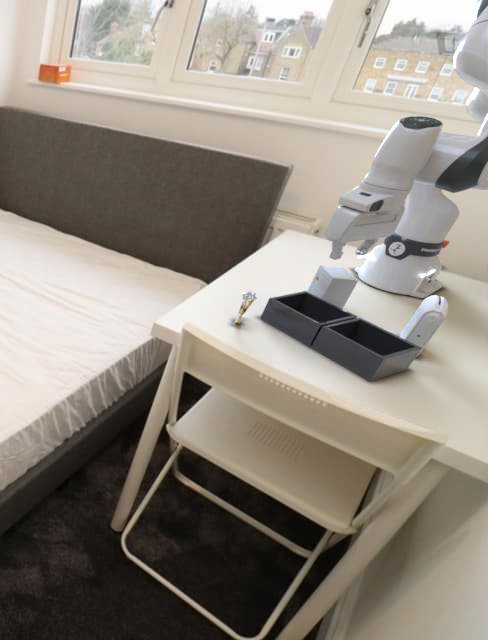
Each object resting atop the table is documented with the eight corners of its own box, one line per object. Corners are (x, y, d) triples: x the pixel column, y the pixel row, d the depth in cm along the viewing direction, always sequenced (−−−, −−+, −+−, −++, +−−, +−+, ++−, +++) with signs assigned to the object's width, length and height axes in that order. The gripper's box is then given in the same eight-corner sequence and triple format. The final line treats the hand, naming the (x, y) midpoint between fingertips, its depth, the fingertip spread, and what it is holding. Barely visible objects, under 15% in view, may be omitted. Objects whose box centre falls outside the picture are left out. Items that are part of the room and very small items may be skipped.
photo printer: (418, 360, 111) (453, 311, 103) (394, 352, 113) (427, 303, 106) (420, 342, 117) (453, 294, 110) (397, 335, 119) (429, 288, 112)
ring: (240, 330, 117) (254, 300, 113) (226, 325, 119) (239, 295, 115) (248, 319, 122) (262, 290, 117) (235, 315, 124) (247, 285, 119)
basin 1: (295, 310, 127) (305, 290, 124) (345, 337, 117) (358, 316, 114) (259, 318, 123) (269, 298, 120) (308, 346, 113) (320, 325, 110)
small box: (337, 319, 124) (359, 281, 118) (312, 316, 125) (333, 277, 119) (324, 304, 131) (344, 267, 125) (301, 301, 131) (320, 264, 125)
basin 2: (347, 338, 117) (359, 317, 114) (407, 369, 107) (422, 347, 104) (310, 347, 113) (322, 326, 109) (369, 381, 103) (384, 358, 100)
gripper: (393, 191, 117) (362, 247, 125) (335, 196, 110) (306, 255, 118) (422, 199, 113) (388, 257, 120) (364, 205, 106) (332, 266, 113)
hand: (347, 256), depth 119 cm, fingers open, 8 cm apart
